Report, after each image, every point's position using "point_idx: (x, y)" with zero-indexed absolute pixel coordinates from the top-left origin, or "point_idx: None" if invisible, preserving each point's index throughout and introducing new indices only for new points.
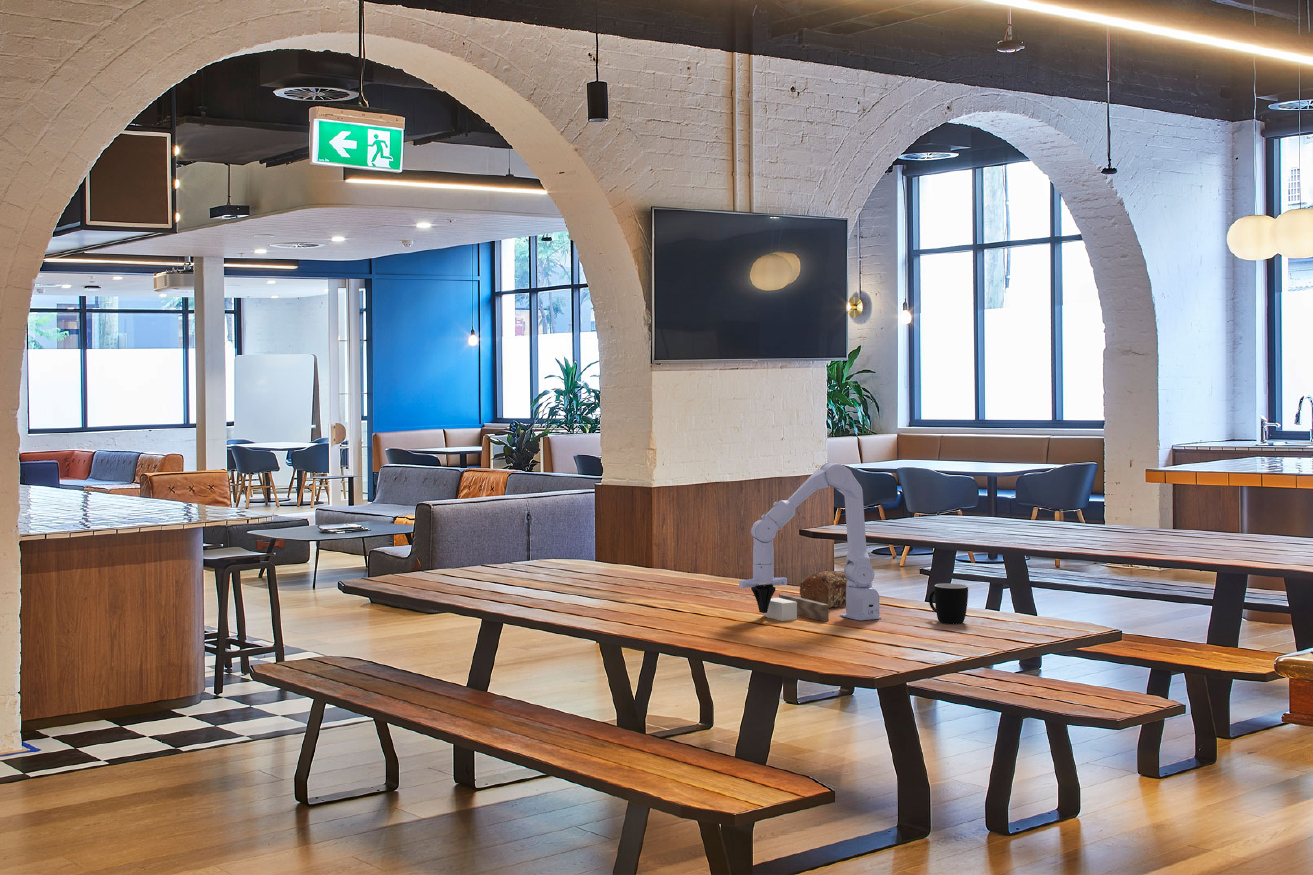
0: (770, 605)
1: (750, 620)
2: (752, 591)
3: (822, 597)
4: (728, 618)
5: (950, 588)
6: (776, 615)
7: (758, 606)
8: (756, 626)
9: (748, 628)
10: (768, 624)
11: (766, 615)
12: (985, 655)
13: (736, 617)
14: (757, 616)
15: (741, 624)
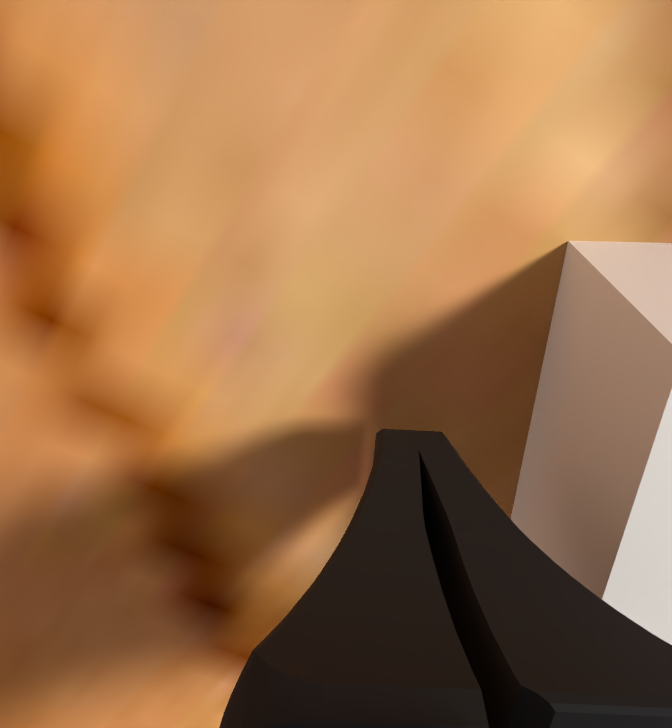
0: (591, 484)
1: (219, 412)
2: (272, 633)
3: None
4: (10, 156)
5: None
6: (529, 517)
7: (370, 474)
8: (112, 652)
9: (6, 681)
10: (263, 633)
11: (560, 312)
12: None
13: (159, 142)
14: (474, 224)
15: (17, 539)
